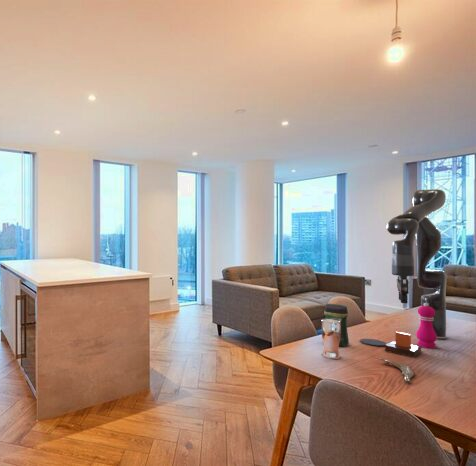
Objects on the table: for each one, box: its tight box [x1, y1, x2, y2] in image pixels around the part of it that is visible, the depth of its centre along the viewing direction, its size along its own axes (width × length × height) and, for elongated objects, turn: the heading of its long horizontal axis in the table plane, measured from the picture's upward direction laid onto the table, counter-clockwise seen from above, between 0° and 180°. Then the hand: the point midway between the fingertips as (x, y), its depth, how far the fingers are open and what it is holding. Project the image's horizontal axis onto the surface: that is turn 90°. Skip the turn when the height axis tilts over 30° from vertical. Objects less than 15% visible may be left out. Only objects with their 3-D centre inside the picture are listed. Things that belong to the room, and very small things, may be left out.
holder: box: [384, 340, 422, 358], centre depth 147 cm, size 10×10×2 cm
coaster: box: [360, 338, 388, 348], centre depth 158 cm, size 10×10×1 cm
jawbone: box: [376, 357, 415, 384], centre depth 123 cm, size 9×20×2 cm, turn 168°
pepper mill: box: [415, 303, 438, 349], centre depth 154 cm, size 7×7×20 cm
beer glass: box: [321, 318, 341, 360], centre depth 141 cm, size 7×7×15 cm
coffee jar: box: [323, 303, 350, 347], centre depth 158 cm, size 10×8×19 cm
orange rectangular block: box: [395, 331, 412, 348], centre depth 147 cm, size 2×5×8 cm, turn 36°
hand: (402, 301), depth 145 cm, fingers open, 8 cm apart
